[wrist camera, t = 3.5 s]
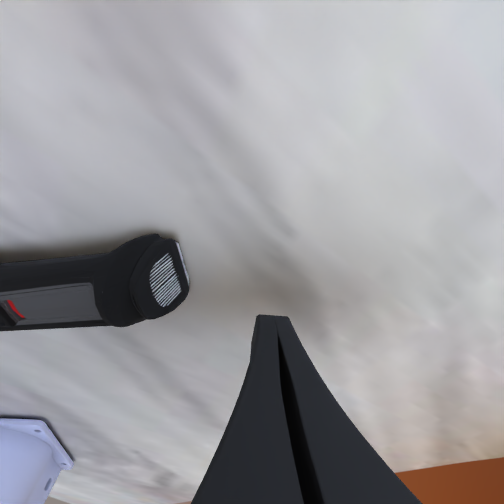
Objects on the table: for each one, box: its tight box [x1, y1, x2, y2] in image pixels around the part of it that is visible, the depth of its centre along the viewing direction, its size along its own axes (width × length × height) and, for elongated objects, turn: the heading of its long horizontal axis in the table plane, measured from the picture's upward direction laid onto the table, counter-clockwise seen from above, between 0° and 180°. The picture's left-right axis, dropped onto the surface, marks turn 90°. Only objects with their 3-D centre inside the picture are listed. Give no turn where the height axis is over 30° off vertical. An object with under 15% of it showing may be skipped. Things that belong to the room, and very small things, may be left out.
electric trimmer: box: [0, 234, 190, 331], centre depth 10 cm, size 4×16×3 cm, turn 95°
